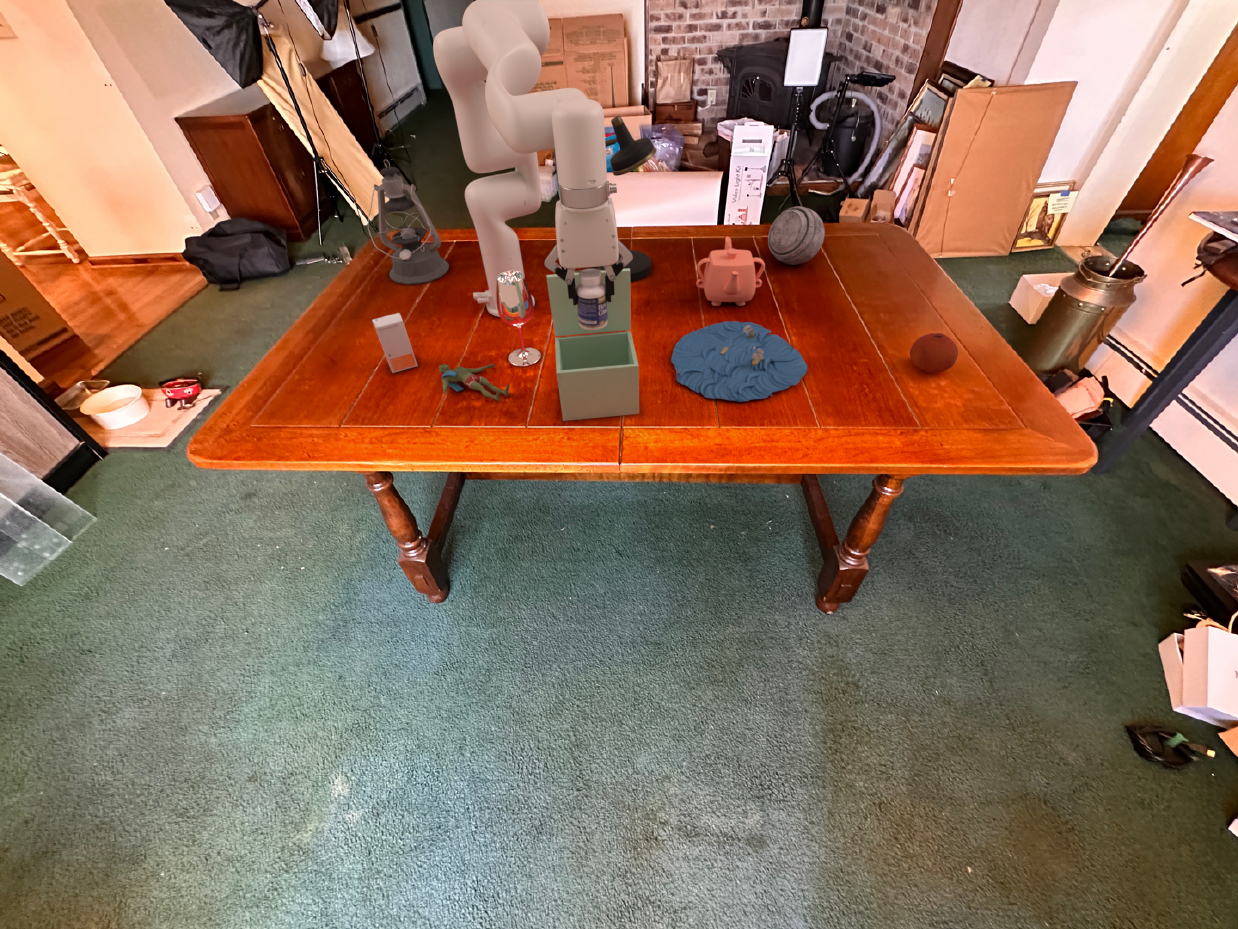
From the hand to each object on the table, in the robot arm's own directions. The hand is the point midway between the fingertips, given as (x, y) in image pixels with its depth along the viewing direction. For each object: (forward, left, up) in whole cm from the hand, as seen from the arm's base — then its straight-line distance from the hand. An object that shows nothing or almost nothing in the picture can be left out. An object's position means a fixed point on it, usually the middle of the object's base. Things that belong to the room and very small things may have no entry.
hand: (591, 299), depth 99 cm
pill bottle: (0, 0, -5) cm, 5 cm away
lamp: (+10, +61, -24) cm, 66 cm away
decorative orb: (+60, +57, -24) cm, 86 cm away
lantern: (-48, +69, -24) cm, 87 cm away
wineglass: (-16, +20, -24) cm, 35 cm away
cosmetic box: (-44, +21, -24) cm, 54 cm away
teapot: (+37, +40, -24) cm, 60 cm away
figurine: (-27, +10, -24) cm, 38 cm away
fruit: (+72, +2, -24) cm, 76 cm away
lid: (0, +7, -5) cm, 9 cm away
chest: (0, +2, -24) cm, 24 cm away
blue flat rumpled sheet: (+32, +10, -24) cm, 41 cm away
